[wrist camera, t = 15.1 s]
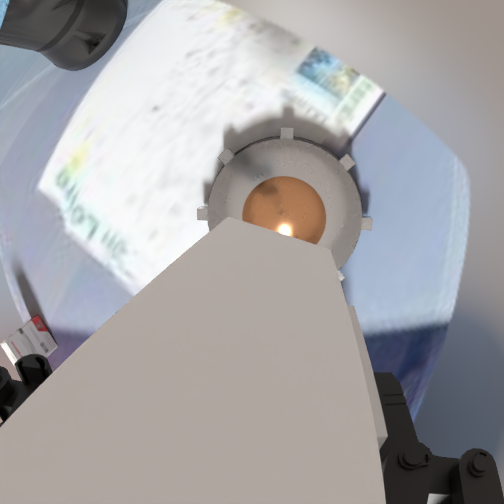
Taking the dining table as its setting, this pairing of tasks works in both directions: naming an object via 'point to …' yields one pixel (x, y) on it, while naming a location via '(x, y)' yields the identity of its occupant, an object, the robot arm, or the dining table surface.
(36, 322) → the ink box
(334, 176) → the sprocket
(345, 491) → the milk
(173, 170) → the dining table surface
